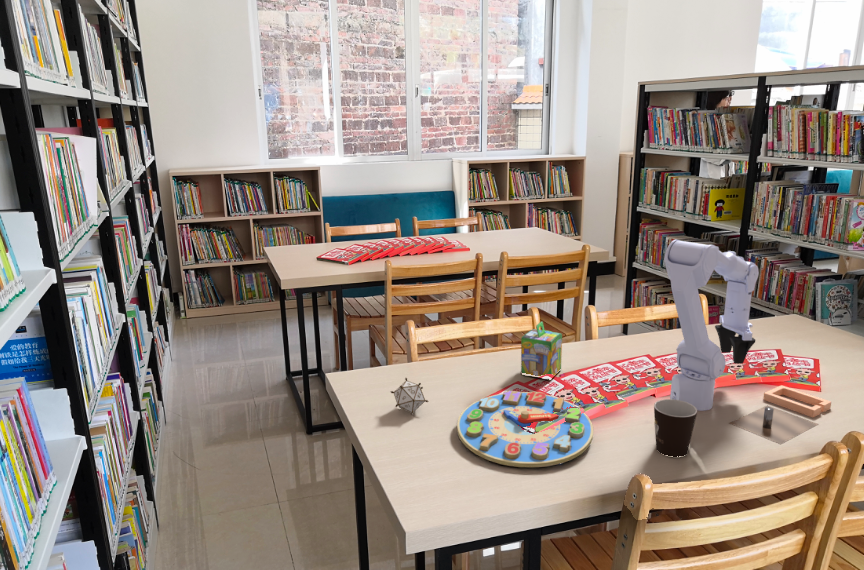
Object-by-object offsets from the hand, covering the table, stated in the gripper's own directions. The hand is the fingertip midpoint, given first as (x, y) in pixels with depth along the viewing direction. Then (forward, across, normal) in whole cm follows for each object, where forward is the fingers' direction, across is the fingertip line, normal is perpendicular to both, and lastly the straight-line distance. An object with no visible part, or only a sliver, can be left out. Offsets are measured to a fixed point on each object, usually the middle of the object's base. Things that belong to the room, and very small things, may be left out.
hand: (731, 357), depth 162 cm
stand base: (+9, -20, -2) cm, 23 cm away
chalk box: (+10, +13, +47) cm, 50 cm away
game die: (+10, -11, +83) cm, 84 cm away
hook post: (+8, -22, +1) cm, 24 cm away
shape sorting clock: (+10, -23, +56) cm, 61 cm away
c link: (+9, -10, -12) cm, 18 cm away
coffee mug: (+10, -29, +24) cm, 39 cm away
